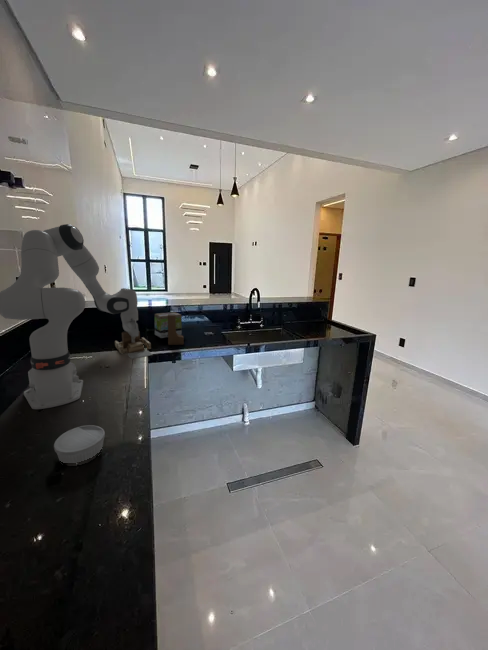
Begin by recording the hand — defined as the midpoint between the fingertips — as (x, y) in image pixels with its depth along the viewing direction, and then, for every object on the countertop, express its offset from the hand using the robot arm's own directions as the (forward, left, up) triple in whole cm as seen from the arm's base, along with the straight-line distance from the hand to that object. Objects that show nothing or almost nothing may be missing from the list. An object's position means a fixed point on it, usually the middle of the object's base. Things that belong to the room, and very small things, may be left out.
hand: (131, 340), depth 154 cm
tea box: (+13, -27, -4) cm, 30 cm away
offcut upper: (-9, 0, -1) cm, 9 cm away
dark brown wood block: (0, 0, -3) cm, 3 cm away
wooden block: (-7, -24, -4) cm, 25 cm away
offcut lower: (-9, 0, -3) cm, 10 cm away
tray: (-3, 0, -4) cm, 5 cm away
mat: (-16, 0, -4) cm, 17 cm away
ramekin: (-83, +34, -4) cm, 90 cm away
